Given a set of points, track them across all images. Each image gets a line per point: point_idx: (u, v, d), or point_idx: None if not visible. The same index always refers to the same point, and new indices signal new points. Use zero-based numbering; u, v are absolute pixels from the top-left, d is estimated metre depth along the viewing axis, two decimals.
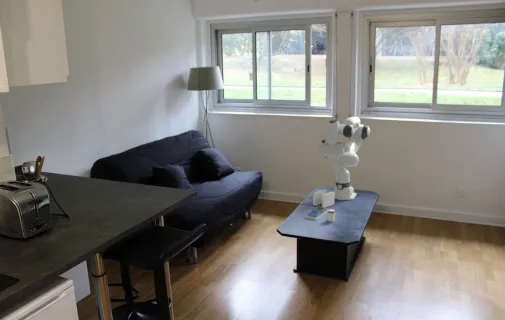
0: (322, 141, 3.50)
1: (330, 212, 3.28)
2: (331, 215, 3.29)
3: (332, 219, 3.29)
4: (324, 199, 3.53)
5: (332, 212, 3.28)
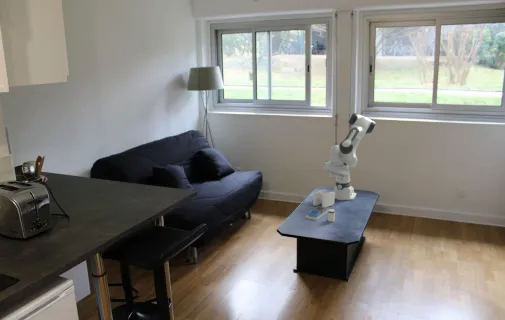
0: None
1: (330, 212, 3.28)
2: (331, 215, 3.29)
3: (332, 219, 3.29)
4: (324, 199, 3.53)
5: (332, 212, 3.28)
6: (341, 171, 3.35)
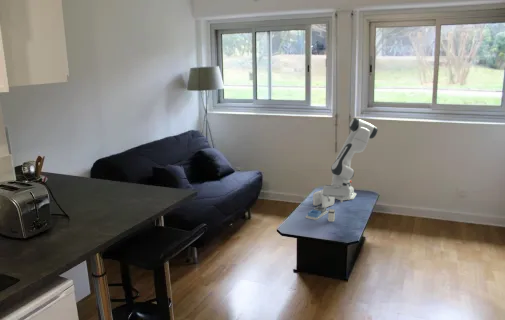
0: None
1: (330, 212, 3.28)
2: (331, 215, 3.29)
3: (332, 219, 3.29)
4: (324, 199, 3.53)
5: (332, 212, 3.28)
6: (340, 192, 3.37)
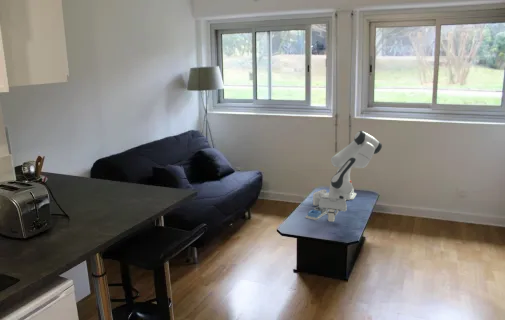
0: None
1: (330, 212, 3.28)
2: (331, 215, 3.29)
3: (332, 219, 3.29)
4: None
5: (332, 212, 3.28)
6: (336, 206, 3.31)
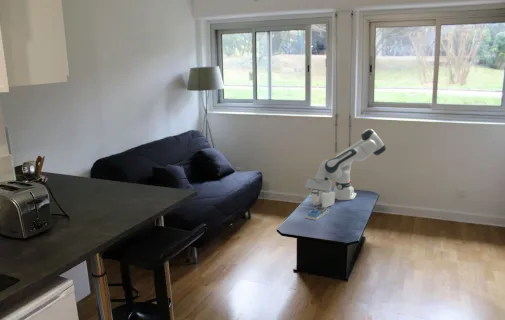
0: None
1: (313, 192, 3.33)
2: (314, 195, 3.33)
3: (315, 200, 3.34)
4: (324, 199, 3.53)
5: (315, 193, 3.32)
6: (320, 187, 3.34)
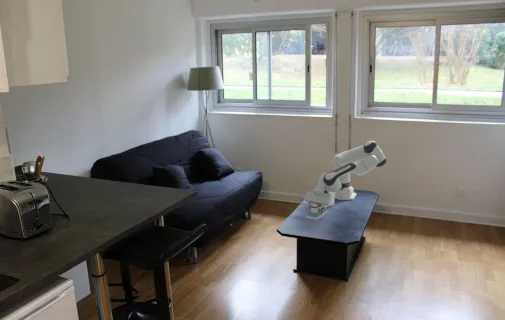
0: None
1: (312, 207, 3.36)
2: (313, 210, 3.36)
3: None
4: None
5: (314, 207, 3.35)
6: (320, 200, 3.37)
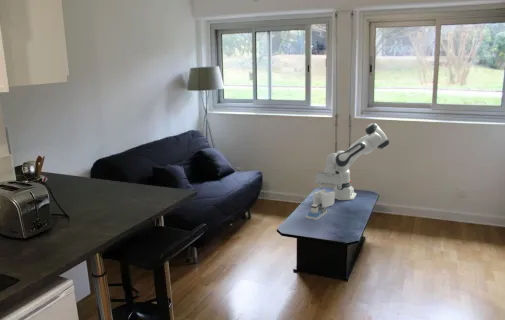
0: None
1: (312, 207, 3.36)
2: (313, 210, 3.36)
3: None
4: (324, 199, 3.53)
5: (314, 207, 3.35)
6: (332, 181, 3.40)
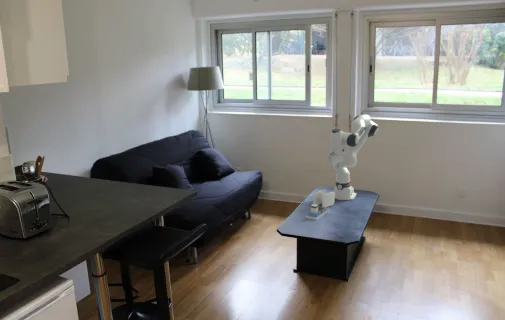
0: None
1: (312, 207, 3.36)
2: (313, 210, 3.36)
3: None
4: (324, 199, 3.53)
5: (314, 207, 3.35)
6: (339, 159, 3.40)
